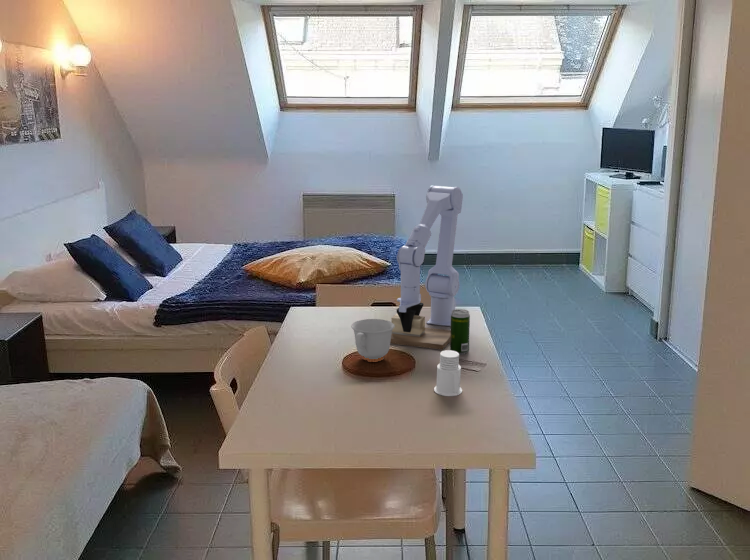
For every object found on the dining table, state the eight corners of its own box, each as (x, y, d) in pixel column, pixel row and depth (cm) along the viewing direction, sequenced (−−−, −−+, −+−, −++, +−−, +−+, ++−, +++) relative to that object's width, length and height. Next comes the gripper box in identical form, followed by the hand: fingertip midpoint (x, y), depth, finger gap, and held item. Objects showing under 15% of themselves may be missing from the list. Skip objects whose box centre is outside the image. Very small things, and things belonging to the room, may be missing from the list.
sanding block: (397, 328, 225) (397, 313, 223) (424, 332, 221) (425, 316, 220) (391, 333, 220) (391, 317, 219) (419, 336, 217) (419, 320, 216)
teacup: (338, 365, 198) (337, 330, 195) (364, 349, 210) (364, 316, 208) (377, 373, 192) (377, 337, 190) (401, 356, 205) (402, 322, 203)
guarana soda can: (472, 352, 208) (473, 311, 205) (459, 356, 205) (460, 315, 202) (459, 347, 212) (460, 307, 209) (446, 351, 209) (446, 311, 206)
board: (394, 328, 230) (394, 324, 229) (455, 335, 223) (455, 330, 222) (378, 341, 217) (378, 337, 217) (442, 349, 210) (442, 344, 210)
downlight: (427, 387, 183) (429, 350, 180) (451, 382, 185) (453, 346, 183) (443, 400, 176) (445, 361, 173) (468, 395, 178) (470, 357, 176)
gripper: (405, 279, 225) (405, 321, 228) (389, 290, 212) (389, 334, 215) (427, 280, 222) (427, 323, 226) (412, 292, 209) (411, 337, 212)
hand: (410, 329), depth 220 cm, fingers closed on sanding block, 5 cm apart
